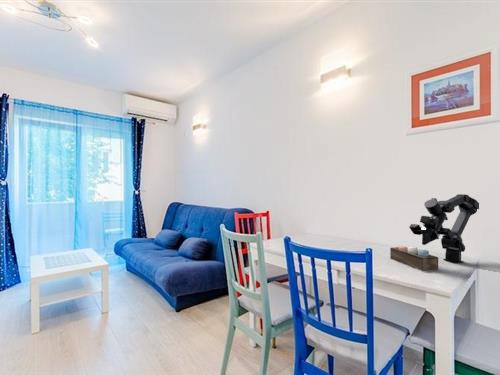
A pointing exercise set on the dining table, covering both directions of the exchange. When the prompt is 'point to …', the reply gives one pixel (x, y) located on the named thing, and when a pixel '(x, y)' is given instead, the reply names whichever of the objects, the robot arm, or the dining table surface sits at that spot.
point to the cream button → (412, 250)
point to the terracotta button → (402, 248)
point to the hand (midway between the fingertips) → (423, 244)
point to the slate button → (423, 253)
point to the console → (414, 259)
